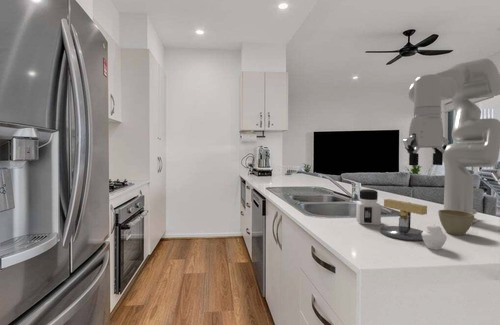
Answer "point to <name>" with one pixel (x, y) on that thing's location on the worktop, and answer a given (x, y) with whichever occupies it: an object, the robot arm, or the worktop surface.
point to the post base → (402, 235)
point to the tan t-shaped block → (405, 207)
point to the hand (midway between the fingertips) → (425, 165)
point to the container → (368, 208)
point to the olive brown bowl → (456, 221)
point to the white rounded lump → (434, 237)
